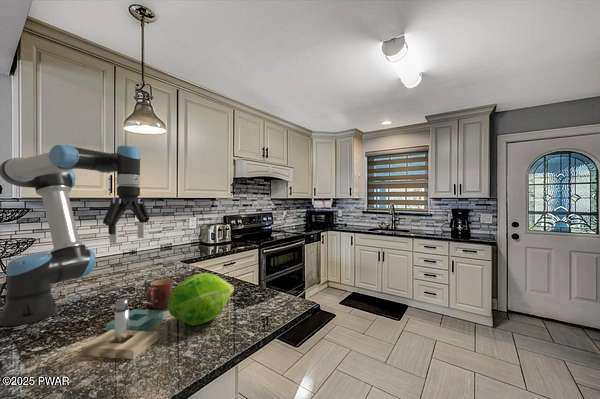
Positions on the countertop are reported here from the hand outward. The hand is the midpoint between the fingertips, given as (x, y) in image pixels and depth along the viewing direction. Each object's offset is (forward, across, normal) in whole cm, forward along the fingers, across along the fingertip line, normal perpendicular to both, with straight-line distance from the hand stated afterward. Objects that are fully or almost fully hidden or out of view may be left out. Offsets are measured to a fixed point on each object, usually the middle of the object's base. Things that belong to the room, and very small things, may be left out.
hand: (128, 240), depth 99 cm
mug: (+29, +7, -8) cm, 31 cm away
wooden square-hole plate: (+29, -21, -16) cm, 39 cm away
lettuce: (+29, -2, -32) cm, 43 cm away
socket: (+29, -8, -10) cm, 31 cm away
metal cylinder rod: (+29, -21, -16) cm, 39 cm away
